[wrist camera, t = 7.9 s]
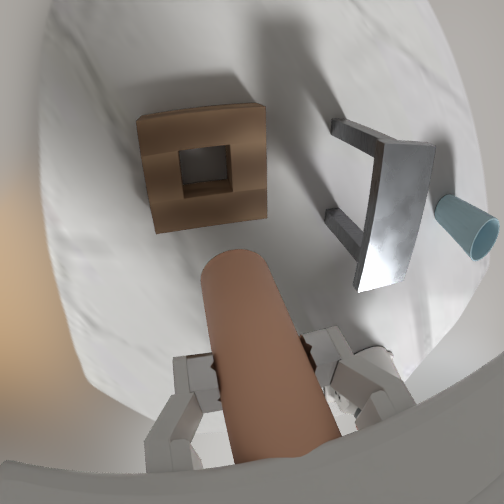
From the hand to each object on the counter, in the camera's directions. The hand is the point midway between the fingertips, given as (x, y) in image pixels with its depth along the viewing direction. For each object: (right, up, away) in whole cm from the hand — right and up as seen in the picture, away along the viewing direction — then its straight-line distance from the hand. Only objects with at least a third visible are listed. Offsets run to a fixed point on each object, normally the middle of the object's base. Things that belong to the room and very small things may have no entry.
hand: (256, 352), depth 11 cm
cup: (+33, +11, +32) cm, 48 cm away
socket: (-6, +14, +20) cm, 25 cm away
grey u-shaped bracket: (+10, +14, +25) cm, 30 cm away
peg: (-1, +3, +4) cm, 5 cm away
